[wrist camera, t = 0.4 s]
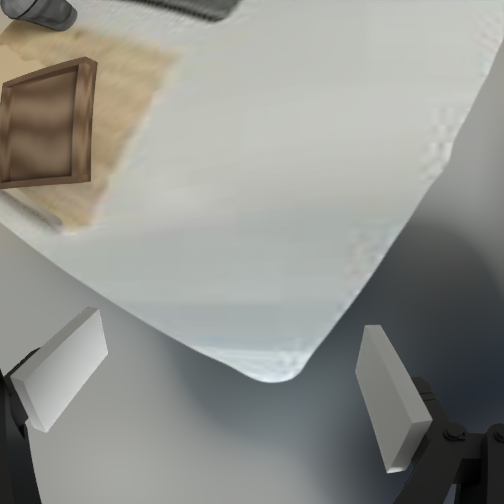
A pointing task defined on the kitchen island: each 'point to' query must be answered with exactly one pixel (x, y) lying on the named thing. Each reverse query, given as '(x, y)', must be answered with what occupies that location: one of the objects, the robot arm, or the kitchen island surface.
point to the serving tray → (47, 125)
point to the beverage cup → (41, 12)
